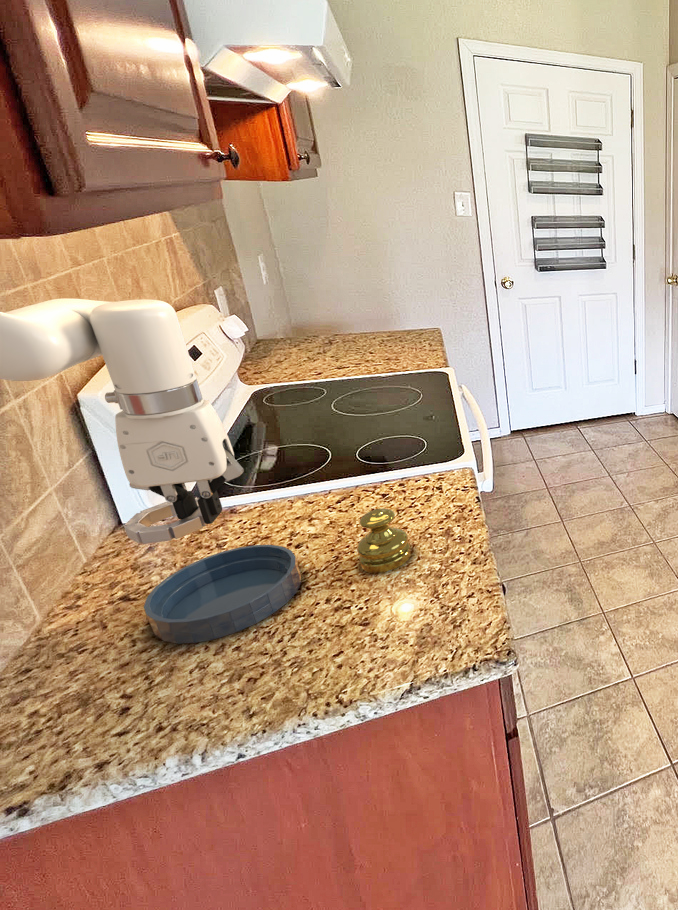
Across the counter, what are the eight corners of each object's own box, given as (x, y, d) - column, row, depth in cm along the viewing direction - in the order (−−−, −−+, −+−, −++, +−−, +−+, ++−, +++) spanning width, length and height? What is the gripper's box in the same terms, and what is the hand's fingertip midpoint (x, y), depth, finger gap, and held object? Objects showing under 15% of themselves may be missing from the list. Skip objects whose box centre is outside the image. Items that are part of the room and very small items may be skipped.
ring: (116, 548, 73) (111, 536, 73) (151, 513, 81) (147, 503, 80) (197, 537, 76) (193, 525, 76) (223, 505, 84) (220, 494, 83)
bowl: (127, 661, 75) (115, 634, 74) (189, 579, 91) (181, 556, 89) (281, 631, 81) (272, 606, 79) (316, 559, 96) (309, 536, 94)
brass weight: (372, 583, 91) (359, 530, 87) (354, 563, 95) (342, 512, 92) (419, 561, 96) (409, 511, 92) (401, 543, 101) (390, 494, 97)
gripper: (61, 414, 67) (114, 545, 74) (224, 402, 72) (260, 525, 79) (100, 393, 74) (146, 514, 80) (247, 383, 79) (279, 498, 85)
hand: (202, 519), depth 79 cm, fingers closed on ring, 1 cm apart
